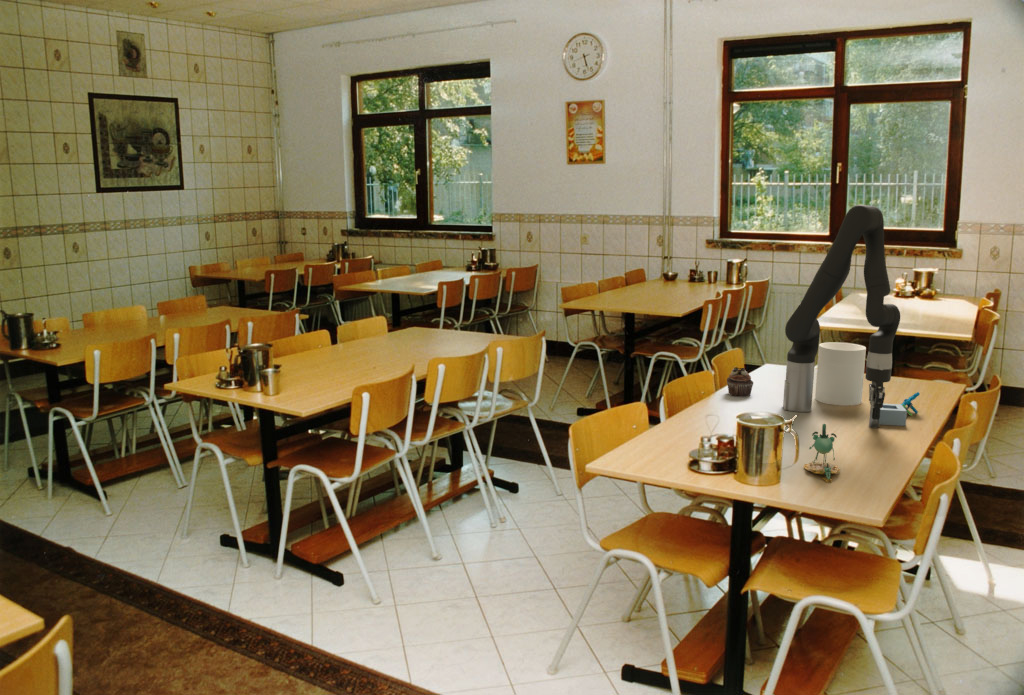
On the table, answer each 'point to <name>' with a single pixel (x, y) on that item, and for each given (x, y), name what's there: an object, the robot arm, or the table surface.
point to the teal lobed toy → (909, 404)
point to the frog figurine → (823, 447)
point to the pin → (873, 422)
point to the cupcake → (739, 383)
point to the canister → (840, 373)
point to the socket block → (893, 415)
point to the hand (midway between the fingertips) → (874, 417)
